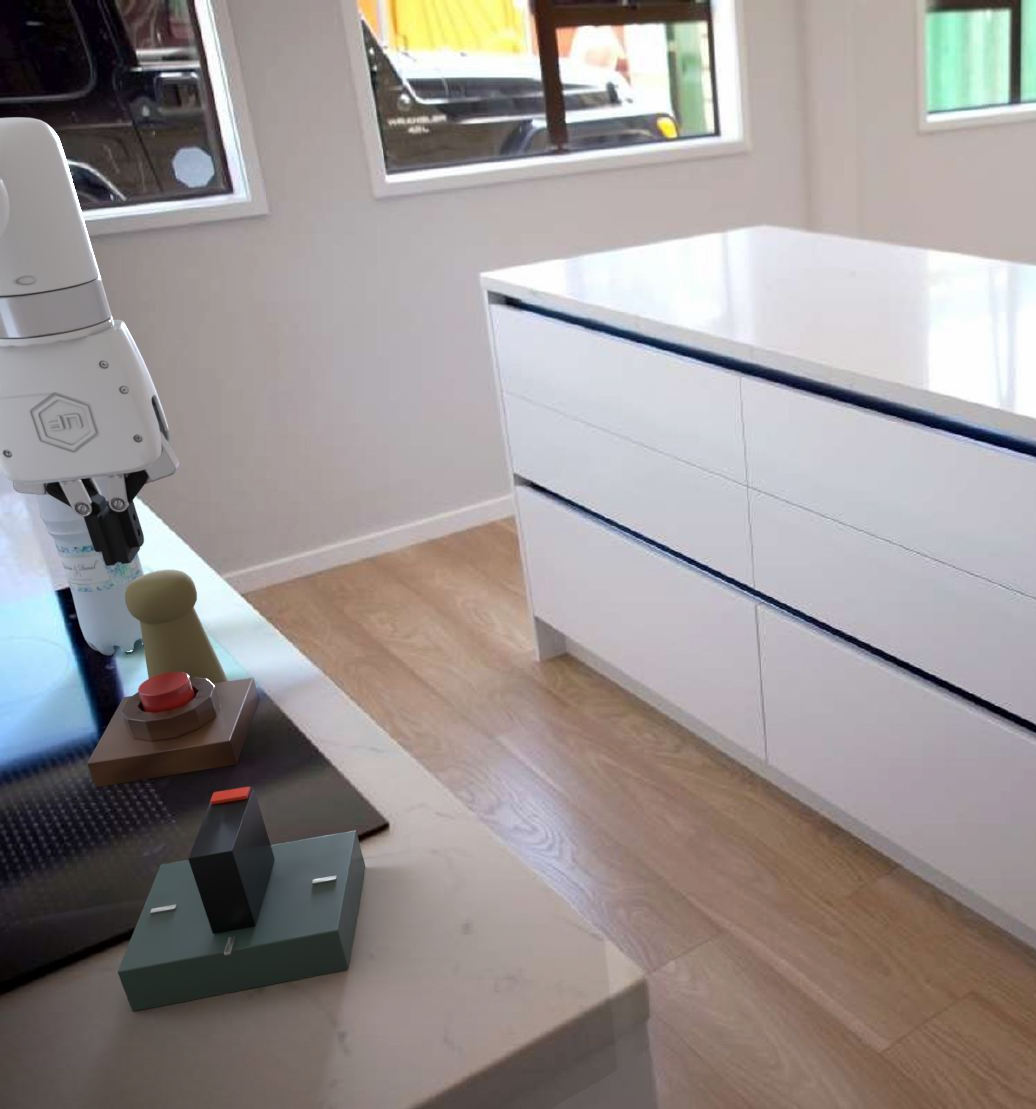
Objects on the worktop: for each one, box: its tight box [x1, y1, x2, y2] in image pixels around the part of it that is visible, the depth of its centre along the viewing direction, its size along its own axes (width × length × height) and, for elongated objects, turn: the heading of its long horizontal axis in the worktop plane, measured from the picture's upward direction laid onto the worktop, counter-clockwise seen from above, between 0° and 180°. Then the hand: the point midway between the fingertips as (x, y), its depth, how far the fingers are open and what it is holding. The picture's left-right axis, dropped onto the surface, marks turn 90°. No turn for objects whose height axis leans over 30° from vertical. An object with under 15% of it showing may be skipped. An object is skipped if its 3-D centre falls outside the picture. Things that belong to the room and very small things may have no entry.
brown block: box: [86, 677, 260, 788], centre depth 99 cm, size 10×10×4 cm
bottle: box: [36, 476, 145, 656], centre depth 112 cm, size 7×7×20 cm
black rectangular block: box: [187, 786, 275, 934], centre depth 76 cm, size 6×2×6 cm, turn 12°
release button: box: [137, 672, 195, 713], centre depth 98 cm, size 4×4×2 cm
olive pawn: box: [125, 569, 229, 684], centre depth 104 cm, size 6×6×11 cm
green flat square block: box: [117, 830, 366, 1012], centre depth 78 cm, size 12×11×3 cm
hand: (123, 556), depth 93 cm, fingers closed
